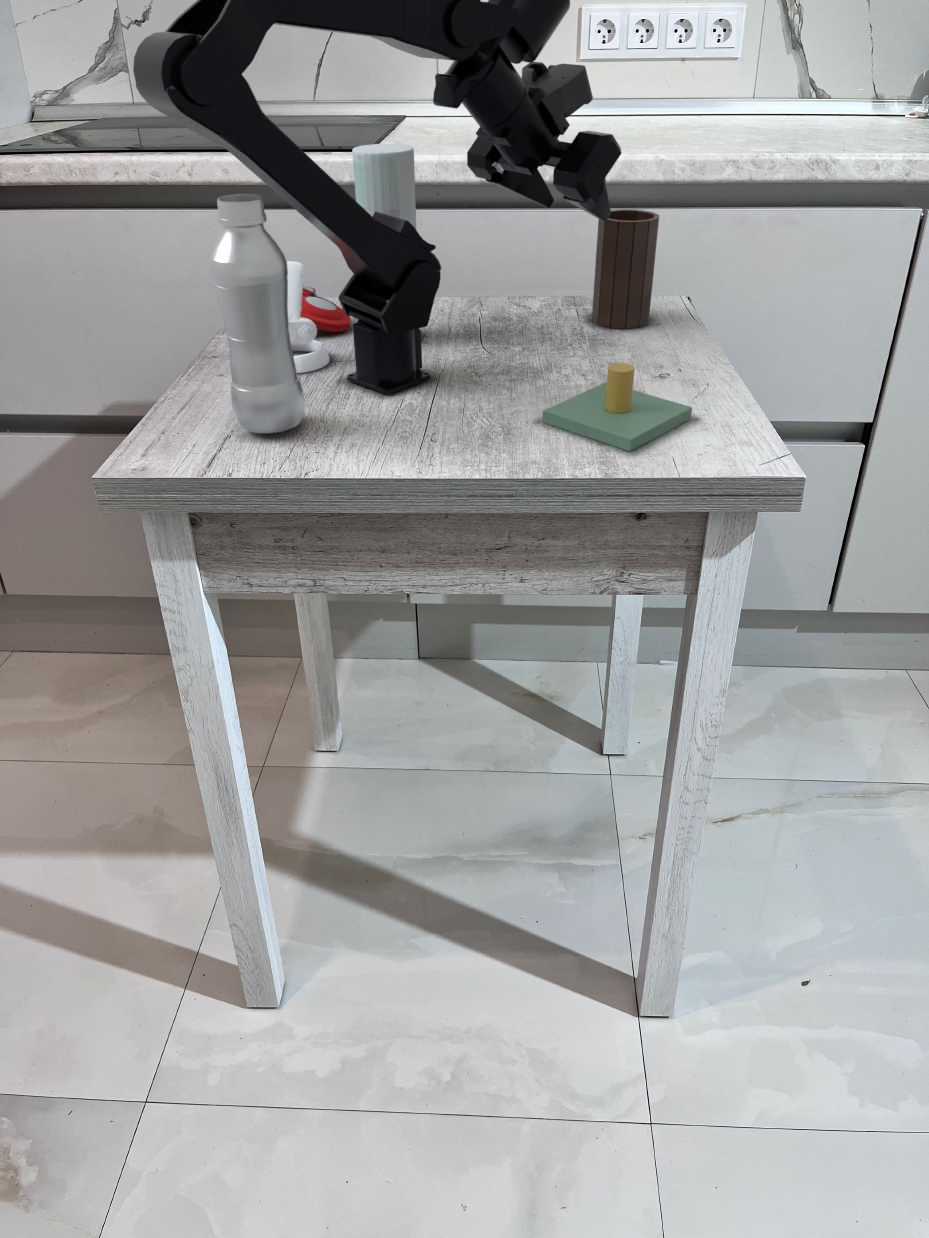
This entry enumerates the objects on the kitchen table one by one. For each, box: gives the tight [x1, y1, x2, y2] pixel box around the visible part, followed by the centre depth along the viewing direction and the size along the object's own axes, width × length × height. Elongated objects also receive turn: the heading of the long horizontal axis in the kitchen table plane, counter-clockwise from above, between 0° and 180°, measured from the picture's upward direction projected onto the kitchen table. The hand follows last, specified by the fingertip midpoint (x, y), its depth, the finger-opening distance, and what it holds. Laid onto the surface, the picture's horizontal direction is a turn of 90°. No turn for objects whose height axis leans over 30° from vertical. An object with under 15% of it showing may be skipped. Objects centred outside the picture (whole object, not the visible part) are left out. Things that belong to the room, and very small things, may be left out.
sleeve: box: [591, 208, 660, 330], centre depth 111 cm, size 7×7×12 cm
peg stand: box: [542, 362, 693, 452], centre depth 87 cm, size 10×10×5 cm
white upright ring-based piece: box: [286, 260, 331, 374], centre depth 102 cm, size 8×12×7 cm
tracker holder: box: [300, 284, 352, 333], centre depth 113 cm, size 12×4×10 cm
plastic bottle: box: [208, 193, 306, 434], centre depth 82 cm, size 6×7×20 cm
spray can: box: [351, 143, 417, 303], centre depth 104 cm, size 6×6×20 cm
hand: (578, 210), depth 102 cm, fingers open, 9 cm apart
